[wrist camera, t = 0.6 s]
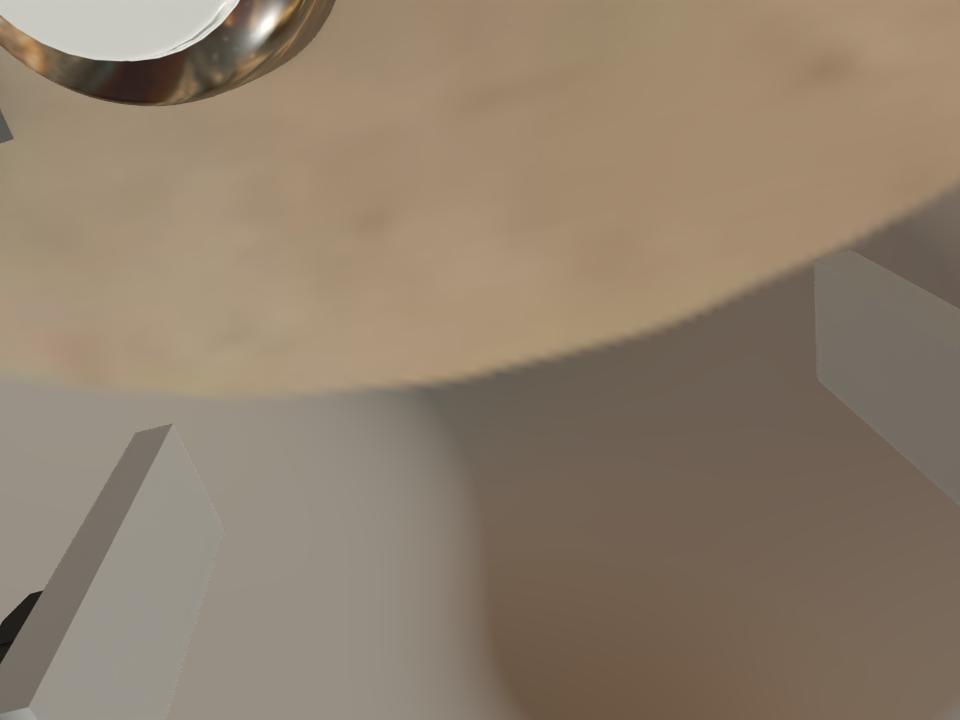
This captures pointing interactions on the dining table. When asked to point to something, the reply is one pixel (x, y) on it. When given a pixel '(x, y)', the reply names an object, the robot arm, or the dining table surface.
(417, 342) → the dining table surface
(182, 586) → the robot arm
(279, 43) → the jar
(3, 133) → the tray
